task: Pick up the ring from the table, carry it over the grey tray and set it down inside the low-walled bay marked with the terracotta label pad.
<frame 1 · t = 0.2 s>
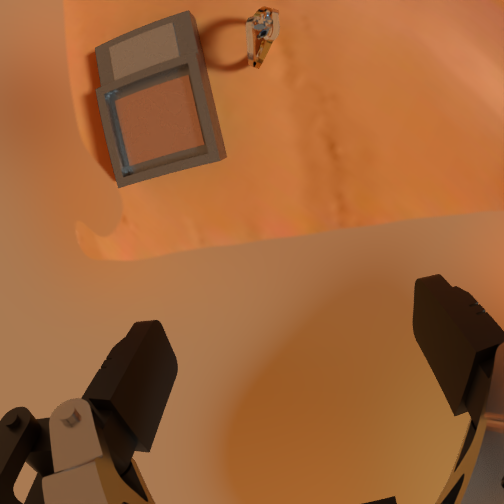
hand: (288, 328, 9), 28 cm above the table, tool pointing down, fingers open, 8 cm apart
ring: (265, 47, 30), on the table
grey tray: (161, 98, 32), on the table
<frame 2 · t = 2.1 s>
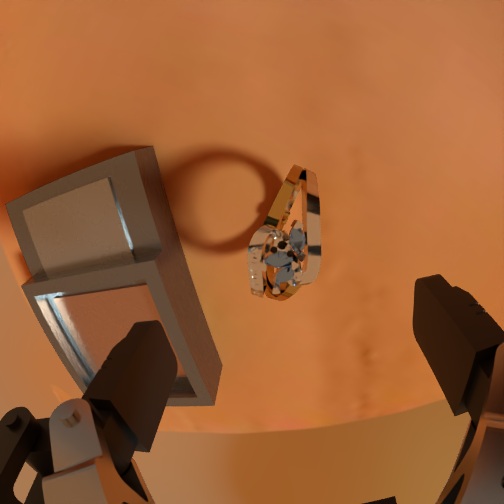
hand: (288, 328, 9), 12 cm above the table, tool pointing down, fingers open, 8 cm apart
ring: (280, 211, 20), on the table
grey tray: (119, 283, 23), on the table
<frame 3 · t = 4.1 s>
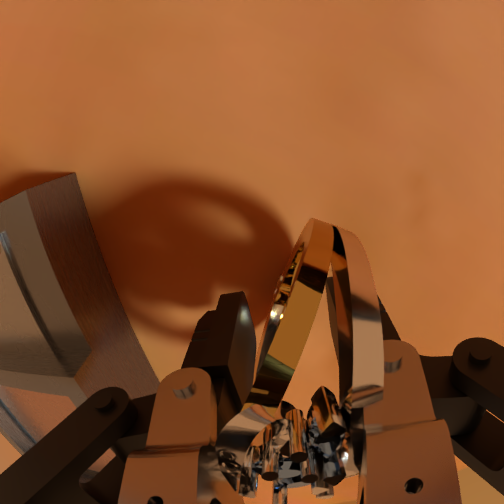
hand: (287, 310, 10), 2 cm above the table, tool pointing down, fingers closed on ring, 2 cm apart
ring: (287, 282, 12), on the table, touching gripper
grey tray: (61, 361, 14), on the table
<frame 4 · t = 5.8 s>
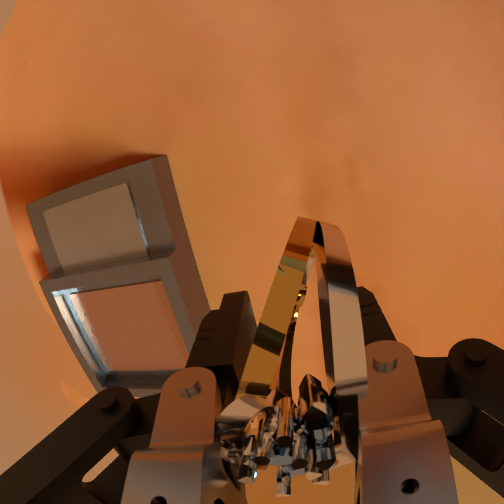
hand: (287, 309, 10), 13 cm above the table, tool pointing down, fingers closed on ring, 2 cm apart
ring: (292, 280, 12), point 10 cm above the table, touching gripper
grey tray: (131, 281, 25), on the table
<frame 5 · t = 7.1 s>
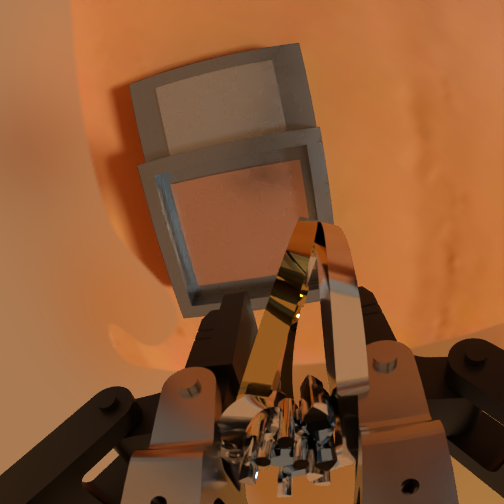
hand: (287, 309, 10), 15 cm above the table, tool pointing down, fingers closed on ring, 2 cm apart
ring: (293, 281, 12), point 13 cm above the table, touching gripper
grey tray: (240, 177, 24), on the table
when the fingers open (6 cm above the table, at t = 9.5 s): ring stays where it is, resting on grey tray.
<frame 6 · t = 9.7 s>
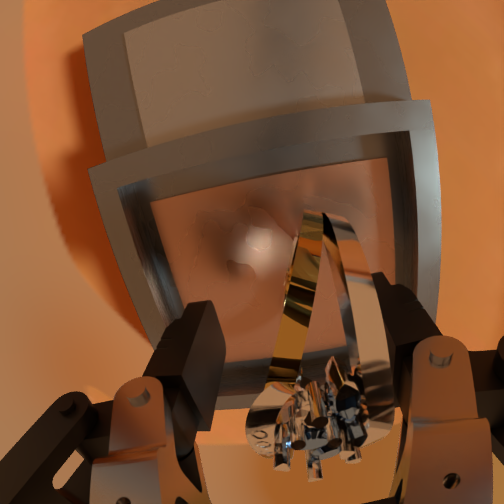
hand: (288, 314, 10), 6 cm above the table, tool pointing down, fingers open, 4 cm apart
ring: (294, 273, 12), point 3 cm above the table, touching grey tray
grey tray: (272, 187, 14), on the table
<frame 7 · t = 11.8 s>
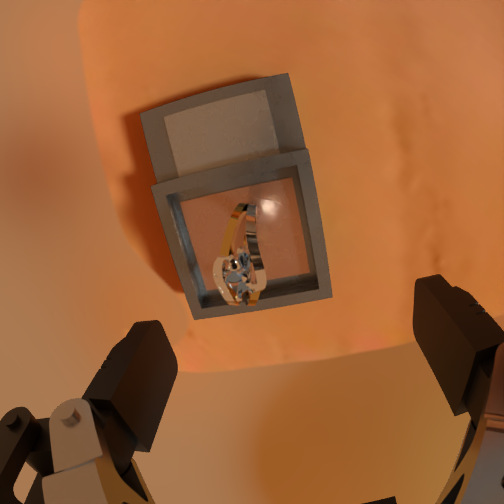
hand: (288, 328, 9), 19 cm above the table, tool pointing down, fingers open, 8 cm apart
ring: (250, 236, 25), point 3 cm above the table, touching grey tray
grey tray: (241, 194, 27), on the table
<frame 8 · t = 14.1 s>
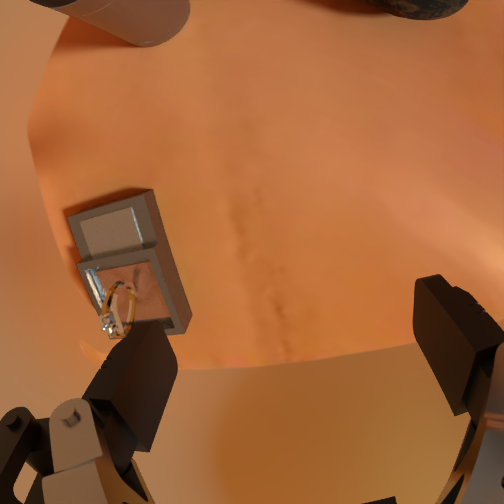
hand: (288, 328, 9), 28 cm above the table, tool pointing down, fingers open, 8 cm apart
ring: (134, 293, 39), point 3 cm above the table, touching grey tray
grey tray: (133, 263, 41), on the table
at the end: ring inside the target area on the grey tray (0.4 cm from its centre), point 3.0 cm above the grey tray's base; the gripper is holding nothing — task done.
